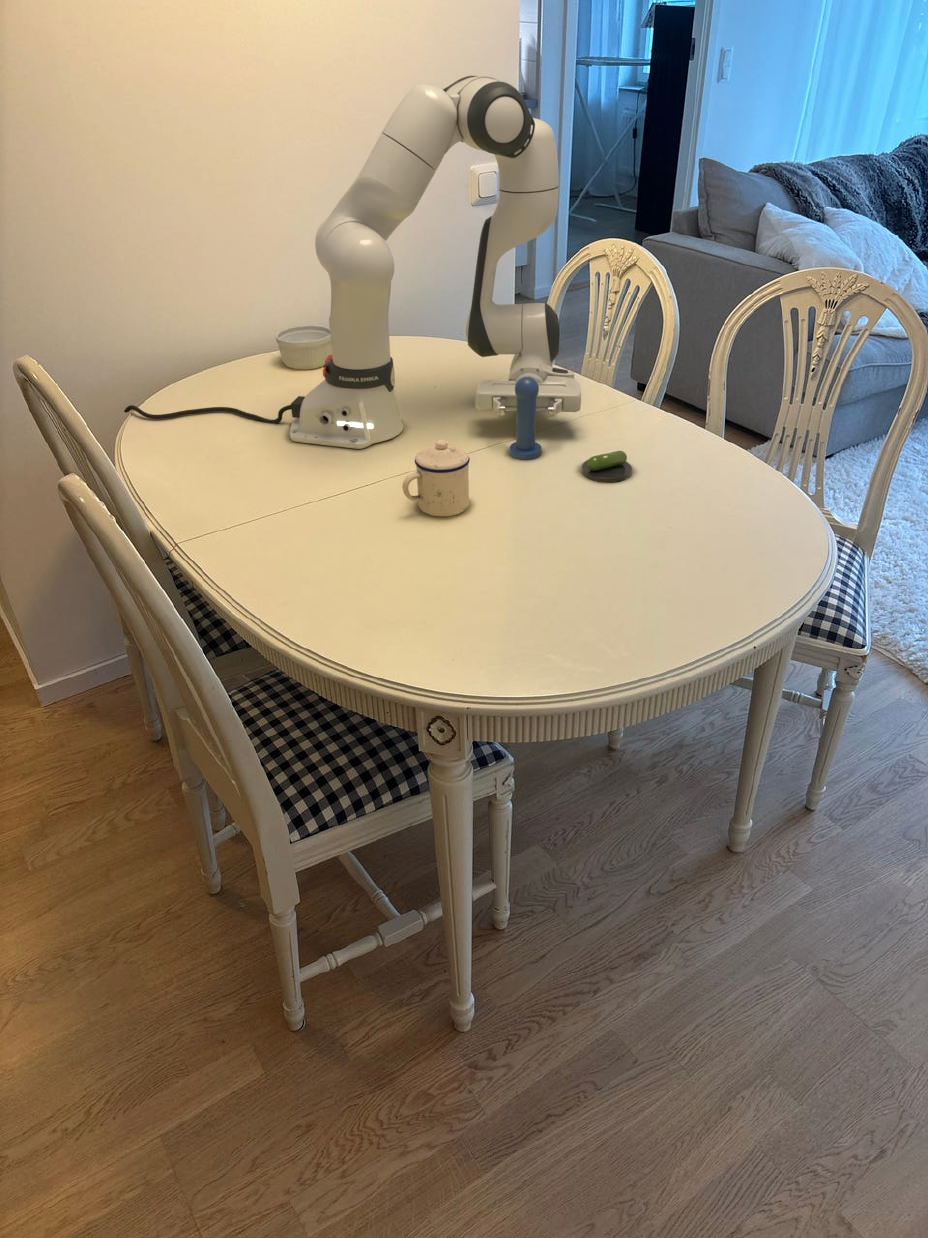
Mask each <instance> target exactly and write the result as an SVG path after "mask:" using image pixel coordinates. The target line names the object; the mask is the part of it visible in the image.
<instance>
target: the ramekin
mask: <svg viewBox="0 0 928 1238" xmlns="http://www.w3.org/2000/svg"><path fill="white" fill-rule="evenodd" d="M275 340H276V343H277V345H278V349H279V353H280V357H281V360H282V362H283V364H284V365H285V366H286V367H288V368H289V369H293V370H300V371H301V370H304V371H305V370H315V369H318V368H321V367H322V368H323V366H324V364H325V360H326V359H327V357H328V356H329V355H332V347H331V337H330V327H327V326H325V325H319V324H303V325H295V326H290V327H287V328H284V329H282V330H279V331H278V332H277V333H276V334H275Z"/></svg>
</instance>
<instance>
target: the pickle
mask: <svg viewBox="0 0 928 1238" xmlns="http://www.w3.org/2000/svg"><path fill="white" fill-rule="evenodd" d="M632 472H633V467H632V465H631V464H630V463H629V462H628V456H627V454H626V452H625V451H623V450H616V451H615V450H614V451H611V452H607V453H602V454H598V455H593V456H591V457H589V458H588V459H587V460H585V461H584V462H583V463H582V464H581V474H582V475H583V476H584V477H585V478H587V479H589V480H592V481H595V482H600V483H618V482H623V481H625V480H627V479H629V478H630V477H631V475H632Z"/></svg>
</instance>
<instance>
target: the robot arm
mask: <svg viewBox="0 0 928 1238" xmlns="http://www.w3.org/2000/svg"><path fill="white" fill-rule="evenodd" d="M457 143H464V144H466V145H467V146H468V147H470V148H471V149H473V150H474V149H475V150H478V151H483V152H486V153H489V154H492V155H494V157H495V160H496V163H497V168H498V199H497V203H496V206H495V209H494V212H493V213H492V215H491V216H489V217H487V218H486V219H485V220H484V222H483V226H482V228H481V232H480V237H479V244H478V249H477V250H478V251H477V257H476V266H475V272H474V281H473V291H472V298H471V305H470V310H469V314H468V317H467V321H466V327H465V337H466V342H467V346H468V347H469V348H470V349H471V350H472V351H473V352H474V353H475V354H477V355H478V356H480V357H481V358H486V357H487V358H488V357H495V356H499V355H500V356H501V355H513V358H512V360H511V363H510V367H509V373H508V377H507V379H505V380H502V379H501V380H497V379H488V380H484V381H482V382H480V384H478V385H476V388H475V392H474V393H475V394H474V403H475V408H476V409H477V410H479V411H494V412H496V415H497V416H498V417H499V416H506V413H507V411H508V412H517V396H516V394H515V385H516V383H517V381H518V380H519V379H521V378H523V377H531V378H533V379H535V380H536V381H537V383H538V386H539V392H538V395H537V398H536V412H546V413H547V417H548V418H549V417H551V418H553V417H554V418H556V417H557V414H559V413H577V412H579V411H580V410H581V409H582V408H581V407H582V390H581V386H580V384H579V381H578V380H577V379H575V373H574V371H572V370H569V369H563V368H558V367H554V365H553V362H555V360H556V358H557V357H558V355H559V352H560V322H559V317H558V314H557V313H556V311H555V310H554V309H553V307H552V306H551V305H550V304H549V303H547V302H530V303H529V302H527V303H526V302H523V303H508V304H507V303H506V304H505V303H504V304H503V303H501V304H498V303H495V302H494V301H493V295H494V287H495V286H494V285H495V280H496V273H497V266H498V262H499V260H500V259H501V258H502V257H503V256H504V255H505V254H506V253H508V252H509V251H511V250H513V249H515V248H517V247H519V246H521V245H523V244H526V243H528V242H530V241H533V240H534V239H537V238H538V237H539V236H541V235H542V234H544V233H545V232H546V231H547V230H548V229H549V228H550V227H551V226H552V224H553V223H554V221H555V219H556V217H557V216H558V209H559V199H560V171H559V169H560V168H559V158H558V151H557V144H556V138H555V133H554V130H553V128H552V127H551V125H549V123H547V122H546V121H544V120H542V119H539V118H536V117H533V116H532V114H531V112H530V110H529V107H528V104H527V101H526V100H525V99H524V97H523V95H522V94H521V92H520V91H519V90H518V89H517V88H516V87H514V86H513V85H512V84H510V83H508V82H505V81H500V80H499V79H497V78H495V77H491V76H485V75H467V76H463V77H461V78H459V79H457V80H455V81H454V82H452V83H451V84H450V85H448V86H446V87H445V88H441V87H439V86H437V85H434V84H431V83H418V84H417V85H414V86H413V87H412V88H411V89H410V90H409V91H408V93H406V95H405V96H404V97H403V98H402V100H401V101H400V103H398V105H397V106H396V108H395V110H394V111H393V112H392V113H391V115H390V117H389V119H388V120H387V122H386V124H385V126H384V127H383V129H382V131H381V133H380V134H379V137H378V138H377V140H376V142H375V144H374V145H373V148H372V150H371V152H370V153H369V155H368V158H367V159H366V161H365V162H364V164H363V166H362V168H361V170H360V171H359V173H358V175H357V177H356V178H355V179H354V181H353V182H352V184H351V185H350V186H349V188H348V189H347V191H346V192H345V193H344V194H343V196H342V197H340V200H338V202H337V203H336V205H335V207H334V208H333V210H331V212H330V213H329V216H327V218H326V219H324V220H323V221H322V222H321V224H320V225H319V227H318V228H317V230H316V234H315V238H314V247H315V252H316V253H315V254H316V257H317V260H318V261H319V263H320V266H322V268H323V269H324V270H325V271H326V272H327V274H328V277H329V281H330V314H329V318H328V326H329V327H328V328H330V337H331V347H332V355H329V356H328V357H327V359H326V360H325V364H324V366H322V377H323V378H324V379H323V381H321V382H320V383H319V384H317V385H316V386H315V387H314V388H313V389H312V390H310V391H309V392H308V393H307V394H306V396H305V395H304V396H303V395H302V396H301V395H298V396H297V397H296V398H295V399H294V400H293V401H292V402H291V403H290V404H288V405H285V406H283V407H281V408H280V409H279V410H278V412H277V418H274V419H268V418H265V417H262V416H260V415H257V414H254V413H249V412H247V411H243V410H241V409H238V408H235V407H228V406H211V407H203V408H201V407H200V408H192V409H185V410H178V411H175V412H169V413H161V414H152V413H148V412H146V411H143V410H142V409H141V408H139V407H138V406H136V405H133V404H132V405H131V404H130V405H128V406H126V407H125V409H124V410H123V413H126V414H127V413H129V412H131V411H135V412H136V413H138V414H139V415H141V416H142V417H144V418H147V419H149V420H165V419H172V418H177V417H181V416H188V415H194V414H195V415H197V414H204V413H212V412H227V413H234V414H237V415H240V416H242V417H245V418H249V419H252V420H256V421H258V422H260V423H266V424H272V425H276V424H279V423H280V422H282V420H283V414H284V413H285V412H287V411H291V417H292V418H294V420H293V422H292V423H291V425H290V427H289V438H290V440H291V441H292V442H295V443H303V444H304V443H305V444H312V445H322V446H331V447H340V448H346V449H356V450H358V449H359V450H360V449H364V448H367V447H369V446H371V445H374V444H378V443H382V442H385V441H388V440H391V439H394V438H395V437H397V436H399V435H400V434H401V433H402V432H403V430H404V424H403V421H402V419H401V416H400V412H399V409H398V404H397V400H396V395H395V386H396V377H395V376H396V375H395V374H396V373H395V365H394V359H393V357H392V356H391V345H390V327H389V313H390V312H389V311H390V310H389V309H390V300H391V291H392V290H391V289H392V280H393V277H394V274H395V261H394V257H393V254H392V253H393V252H392V251H391V248H390V246H389V244H388V243H387V240H388V239H389V238H390V237H391V236H392V234H393V233H394V232H395V230H397V228H398V227H399V226H400V225H401V223H403V222H404V220H406V219H407V218H409V217H410V216H411V215H412V214H413V213H414V212H415V210H416V208H417V206H418V204H419V203H420V201H421V199H422V197H423V196H424V194H425V192H426V190H427V189H428V186H429V184H430V183H431V181H432V179H433V178H434V176H435V174H436V172H437V170H438V168H439V166H440V165H441V163H442V161H443V158H444V156H445V155H446V154H447V153H448V152H449V151H450V149H451V148H452V147H453V146H455V145H457Z"/></svg>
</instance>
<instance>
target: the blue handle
mask: <svg viewBox="0 0 928 1238" xmlns="http://www.w3.org/2000/svg"><path fill="white" fill-rule="evenodd" d="M538 392H539V386H538V383H537V381H536V380H535V379H533V378H531V377H523V378H521V379H519V380H518V381H517V383H516V385H515V394H516V396H517V411H516V417H515V421H516V423H515V427H516V428H515V436H516V437H515V442H512V443H511V444H509V445H510V446H509V455H510V456H511V457H512V458H514V459H518V460H525V461H527V460H529V461H530V460H534V459H537V458H539V457H540V456H541V455H542V450H543V449H542V448H543V447H542V445H541V444H540V443H539V442H536V435H537V434H536V432H537V431H536V427H537V411H536V398H537V395H538Z"/></svg>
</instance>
